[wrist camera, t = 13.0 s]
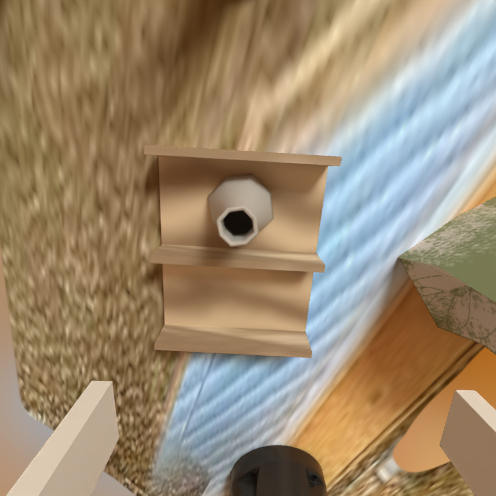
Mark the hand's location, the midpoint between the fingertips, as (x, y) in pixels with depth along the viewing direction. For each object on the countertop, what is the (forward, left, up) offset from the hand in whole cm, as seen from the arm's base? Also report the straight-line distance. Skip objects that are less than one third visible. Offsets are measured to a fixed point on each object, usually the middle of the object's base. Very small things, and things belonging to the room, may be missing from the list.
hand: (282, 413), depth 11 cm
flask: (+5, +2, -22) cm, 23 cm away
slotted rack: (-1, +2, -23) cm, 23 cm away
